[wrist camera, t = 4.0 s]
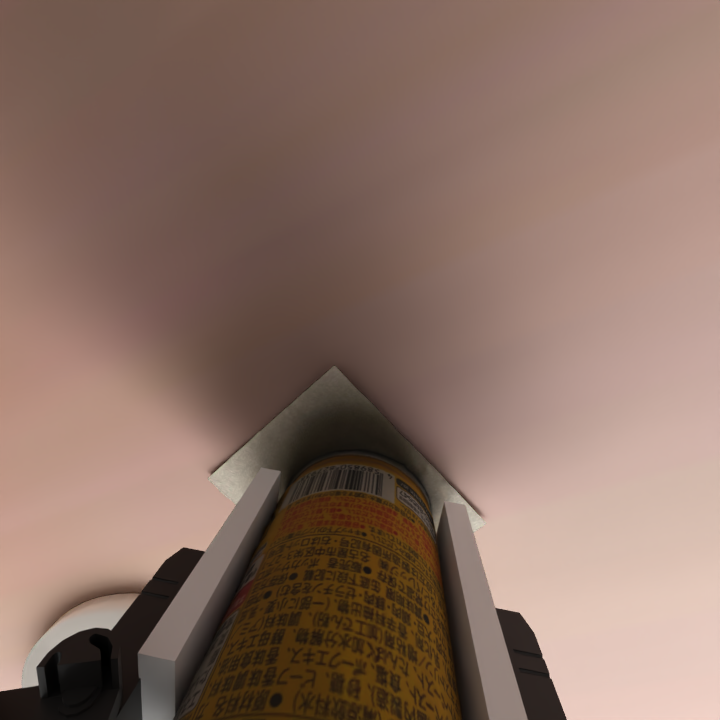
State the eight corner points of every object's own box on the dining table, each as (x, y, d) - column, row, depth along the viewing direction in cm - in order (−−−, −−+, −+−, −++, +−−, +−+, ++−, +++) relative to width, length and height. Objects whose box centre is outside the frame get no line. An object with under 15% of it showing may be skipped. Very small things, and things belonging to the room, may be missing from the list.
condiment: (350, 607, 16) (222, 1598, 4) (209, 475, 14) (-526, 1311, 3) (485, 519, 14) (960, 1844, 2) (336, 362, 13) (-262, 1352, 1)
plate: (26, 567, 17) (-4, 592, 16) (314, 627, 16) (307, 658, 15) (54, 759, 21) (32, 790, 19) (288, 814, 20) (281, 851, 19)
